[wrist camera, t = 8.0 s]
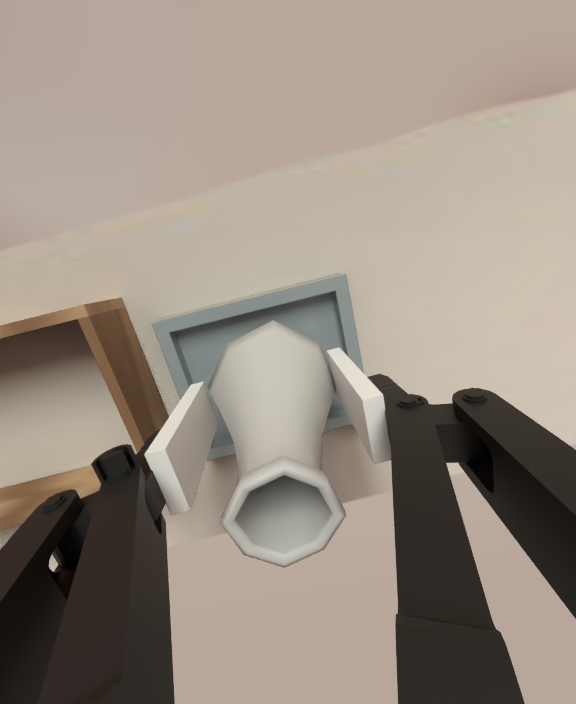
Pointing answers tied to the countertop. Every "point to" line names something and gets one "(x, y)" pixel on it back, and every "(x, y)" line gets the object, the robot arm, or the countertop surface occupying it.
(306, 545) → the flask
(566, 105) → the countertop surface
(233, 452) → the tray
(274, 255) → the countertop surface
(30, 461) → the countertop surface
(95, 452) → the countertop surface
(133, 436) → the caddy
